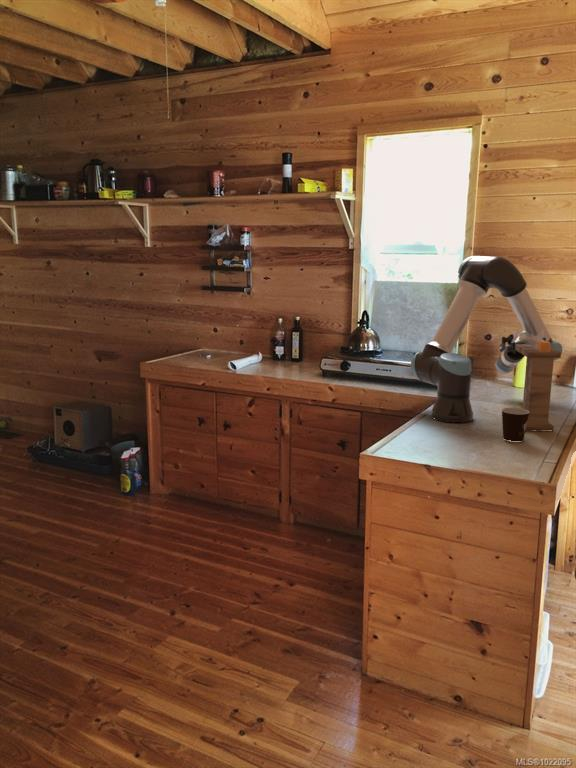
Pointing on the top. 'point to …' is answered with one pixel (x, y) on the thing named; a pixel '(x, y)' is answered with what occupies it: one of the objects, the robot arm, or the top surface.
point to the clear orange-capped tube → (534, 342)
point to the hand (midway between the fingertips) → (530, 333)
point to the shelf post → (538, 385)
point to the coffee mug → (514, 423)
